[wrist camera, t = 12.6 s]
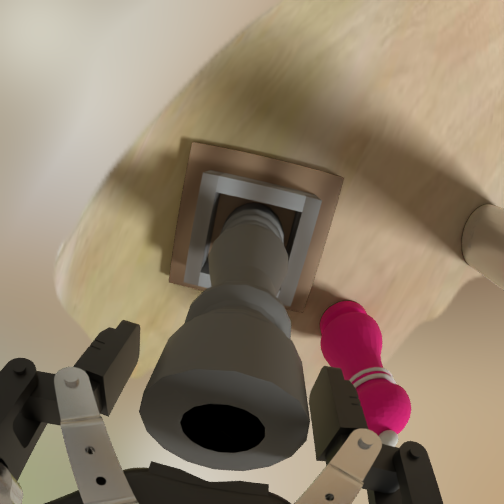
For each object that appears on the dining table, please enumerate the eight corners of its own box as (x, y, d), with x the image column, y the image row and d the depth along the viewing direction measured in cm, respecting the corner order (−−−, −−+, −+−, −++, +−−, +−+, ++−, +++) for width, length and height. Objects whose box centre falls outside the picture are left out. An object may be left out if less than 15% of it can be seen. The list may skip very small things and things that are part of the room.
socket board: (340, 176, 32) (354, 181, 26) (301, 306, 37) (306, 331, 31) (195, 142, 31) (182, 140, 26) (172, 277, 36) (158, 297, 31)
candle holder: (287, 253, 33) (323, 464, 9) (231, 264, 34) (172, 473, 10) (276, 197, 31) (307, 345, 7) (217, 209, 32) (100, 366, 8)
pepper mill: (321, 295, 36) (362, 424, 17) (375, 298, 36) (446, 412, 17) (311, 343, 38) (335, 474, 19) (362, 345, 38) (410, 464, 19)
